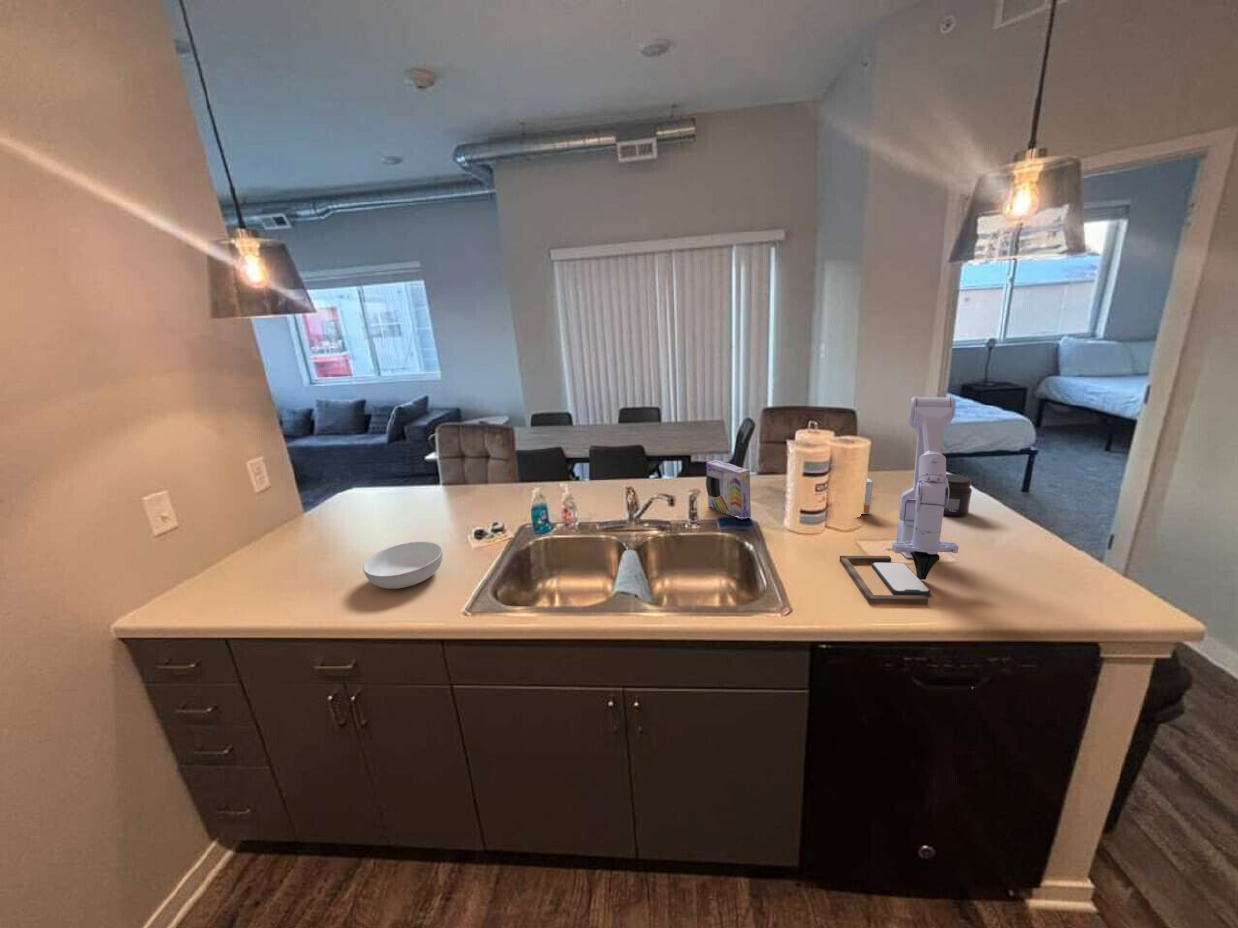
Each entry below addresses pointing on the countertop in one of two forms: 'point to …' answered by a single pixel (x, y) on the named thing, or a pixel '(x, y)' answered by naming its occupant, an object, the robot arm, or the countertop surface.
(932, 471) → the robot arm
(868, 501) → the skincare box
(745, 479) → the cake pan box
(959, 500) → the supplement container
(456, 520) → the countertop surface
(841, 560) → the walnut frame
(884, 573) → the dark grey smartphone
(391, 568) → the serving bowl
